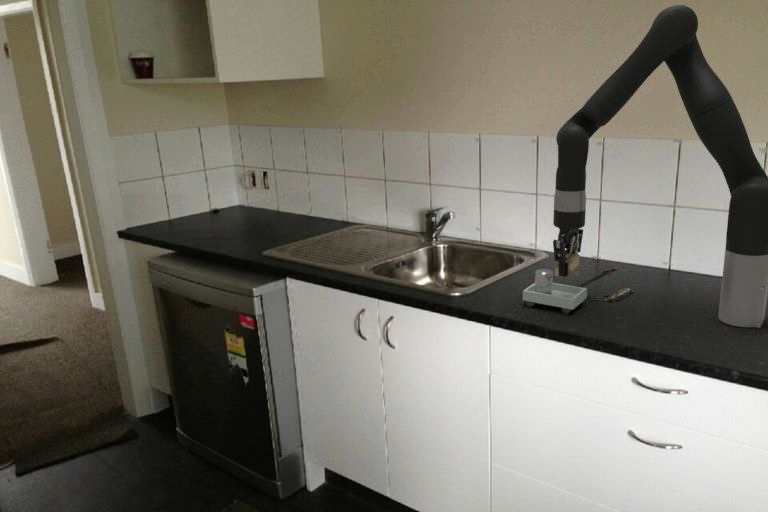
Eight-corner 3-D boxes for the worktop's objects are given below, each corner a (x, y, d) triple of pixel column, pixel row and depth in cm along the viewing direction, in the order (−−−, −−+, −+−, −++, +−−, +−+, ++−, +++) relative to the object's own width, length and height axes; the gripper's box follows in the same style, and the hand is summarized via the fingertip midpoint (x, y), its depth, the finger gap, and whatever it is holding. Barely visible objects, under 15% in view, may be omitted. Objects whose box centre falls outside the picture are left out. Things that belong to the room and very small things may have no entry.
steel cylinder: (555, 293, 167) (556, 272, 165) (543, 297, 165) (544, 275, 163) (542, 288, 171) (543, 267, 169) (530, 292, 168) (531, 271, 166)
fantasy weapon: (560, 296, 175) (611, 307, 164) (560, 290, 175) (611, 300, 164) (613, 269, 194) (662, 277, 183) (613, 264, 193) (662, 271, 182)
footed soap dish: (586, 303, 166) (587, 288, 165) (572, 315, 159) (573, 299, 158) (537, 294, 174) (538, 280, 173) (522, 306, 167) (522, 290, 166)
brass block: (578, 273, 163) (579, 254, 161) (572, 278, 159) (572, 259, 158) (561, 270, 165) (562, 252, 164) (554, 275, 162) (555, 256, 161)
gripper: (573, 214, 150) (570, 284, 155) (595, 202, 161) (591, 267, 166) (543, 211, 154) (541, 279, 159) (566, 200, 165) (563, 263, 170)
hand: (567, 273), depth 162 cm, fingers closed on brass block, 4 cm apart
